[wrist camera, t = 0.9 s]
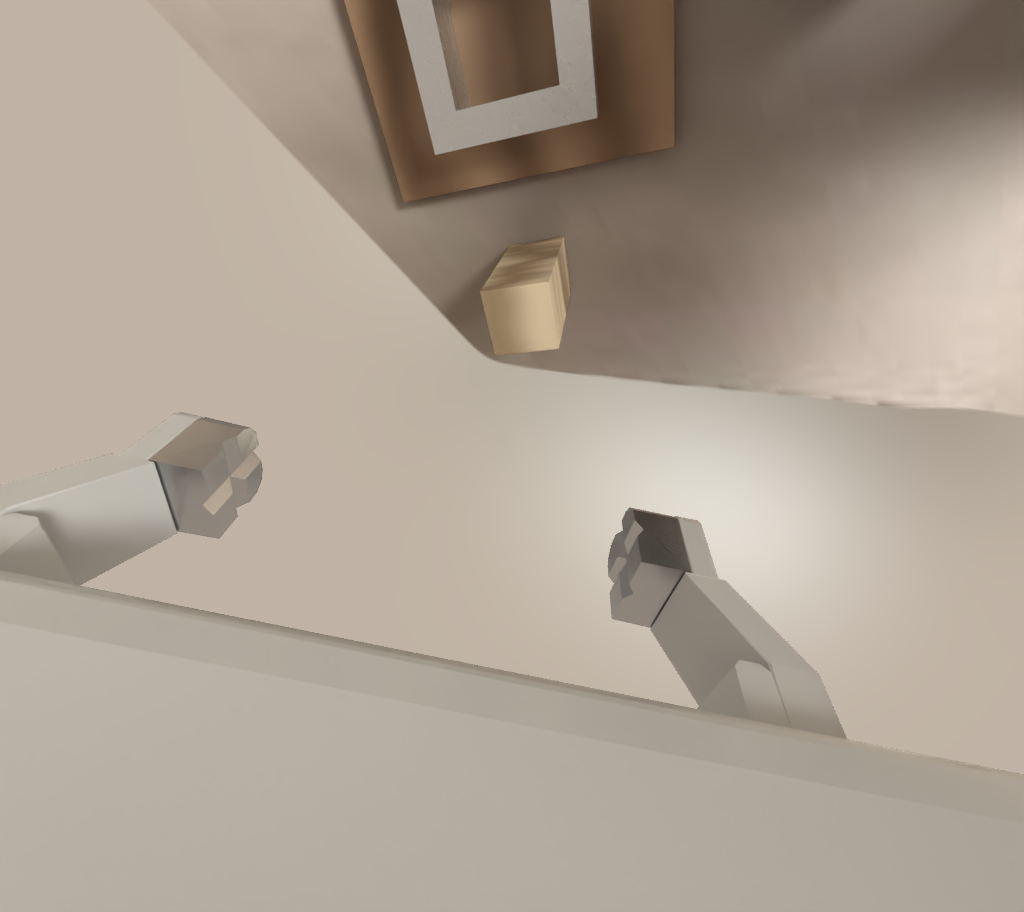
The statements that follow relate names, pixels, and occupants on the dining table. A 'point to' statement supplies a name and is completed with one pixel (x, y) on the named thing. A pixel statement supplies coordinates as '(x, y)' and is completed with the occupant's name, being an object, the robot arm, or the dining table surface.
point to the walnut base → (521, 88)
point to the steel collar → (506, 118)
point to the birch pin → (528, 297)
